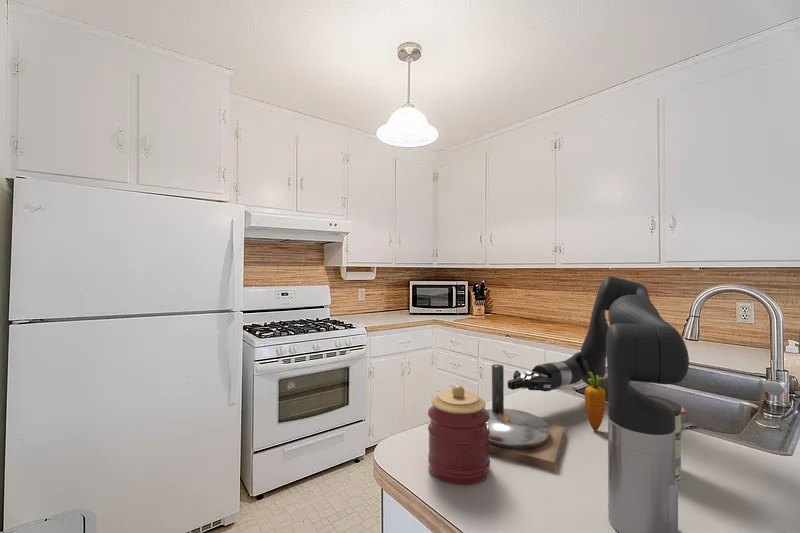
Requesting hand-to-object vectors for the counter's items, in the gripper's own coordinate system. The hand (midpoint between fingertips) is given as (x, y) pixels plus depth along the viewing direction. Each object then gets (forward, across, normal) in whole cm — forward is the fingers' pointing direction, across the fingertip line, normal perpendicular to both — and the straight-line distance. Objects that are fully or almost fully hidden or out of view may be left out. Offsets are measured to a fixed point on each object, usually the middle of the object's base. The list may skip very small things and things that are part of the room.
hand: (509, 385), depth 100 cm
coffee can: (-9, +31, +11) cm, 34 cm away
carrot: (-16, +14, +11) cm, 24 cm away
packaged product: (-34, +19, +11) cm, 40 cm away
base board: (+7, +7, +10) cm, 14 cm away
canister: (+26, +10, +11) cm, 30 cm away
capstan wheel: (+7, +7, +8) cm, 13 cm away
